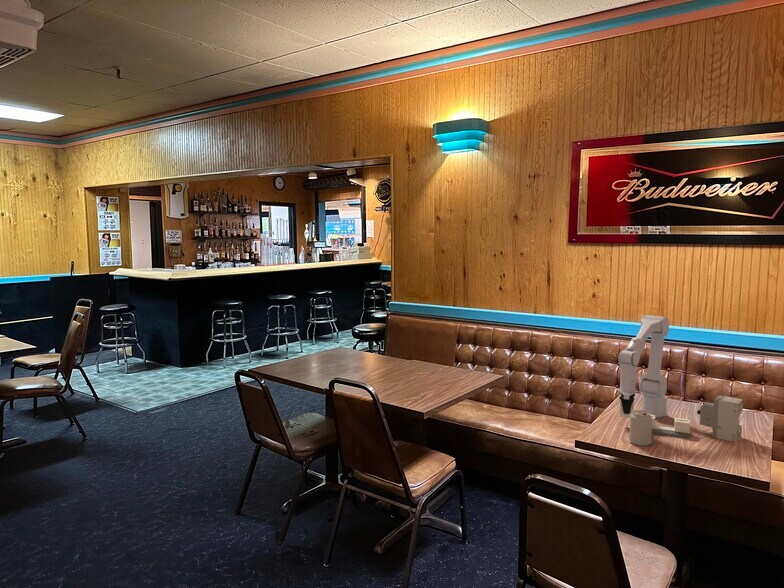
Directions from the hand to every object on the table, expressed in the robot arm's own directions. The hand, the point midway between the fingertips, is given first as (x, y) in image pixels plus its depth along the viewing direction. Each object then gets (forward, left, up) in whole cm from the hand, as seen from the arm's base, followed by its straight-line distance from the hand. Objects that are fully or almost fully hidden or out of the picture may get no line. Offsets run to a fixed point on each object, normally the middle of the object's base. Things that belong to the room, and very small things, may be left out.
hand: (626, 411), depth 216 cm
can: (+10, +16, -6) cm, 20 cm away
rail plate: (-9, +11, -6) cm, 15 cm away
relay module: (0, 0, -2) cm, 2 cm away
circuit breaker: (-25, +22, -6) cm, 34 cm away
